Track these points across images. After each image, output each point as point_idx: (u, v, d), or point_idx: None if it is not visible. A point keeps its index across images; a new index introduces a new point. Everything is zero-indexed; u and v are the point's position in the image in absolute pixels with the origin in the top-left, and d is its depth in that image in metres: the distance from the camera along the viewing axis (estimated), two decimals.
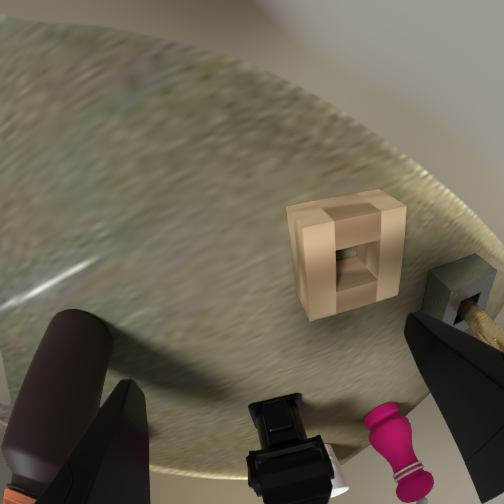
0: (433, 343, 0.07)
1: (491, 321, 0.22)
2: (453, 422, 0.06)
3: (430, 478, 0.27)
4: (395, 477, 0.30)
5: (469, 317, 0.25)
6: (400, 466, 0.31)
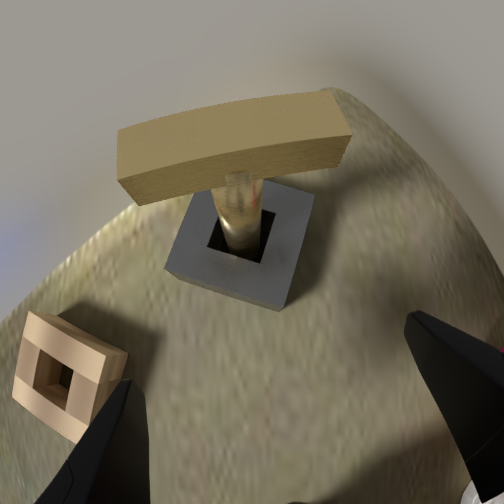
0: (433, 343, 0.07)
1: None
2: (453, 422, 0.06)
3: None
4: None
5: (228, 236, 0.18)
6: None
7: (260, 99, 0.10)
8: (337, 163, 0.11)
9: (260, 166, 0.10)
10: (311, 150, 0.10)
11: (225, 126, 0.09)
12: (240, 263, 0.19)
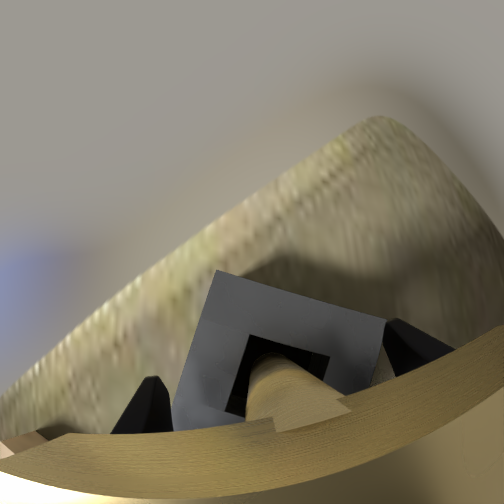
0: (409, 353, 0.07)
1: (251, 390, 0.08)
2: None
3: None
4: None
5: None
6: None
7: (474, 415, 0.02)
8: None
9: None
10: None
11: None
12: None
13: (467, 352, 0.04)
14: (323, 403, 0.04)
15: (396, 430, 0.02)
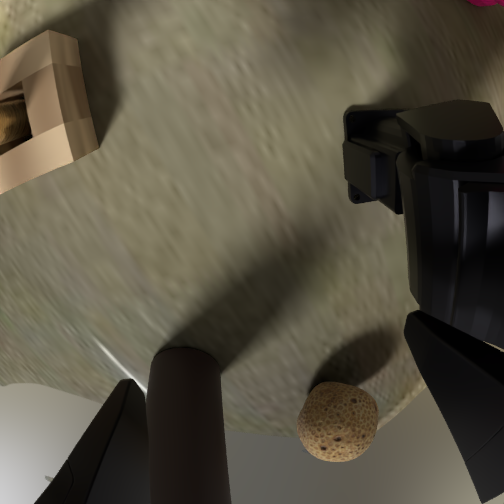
0: (433, 343, 0.07)
1: None
2: (453, 422, 0.06)
3: None
4: None
5: (1, 141, 0.10)
6: None
7: None
8: None
9: None
10: None
11: None
12: None
13: None
14: None
15: None
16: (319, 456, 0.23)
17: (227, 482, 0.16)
